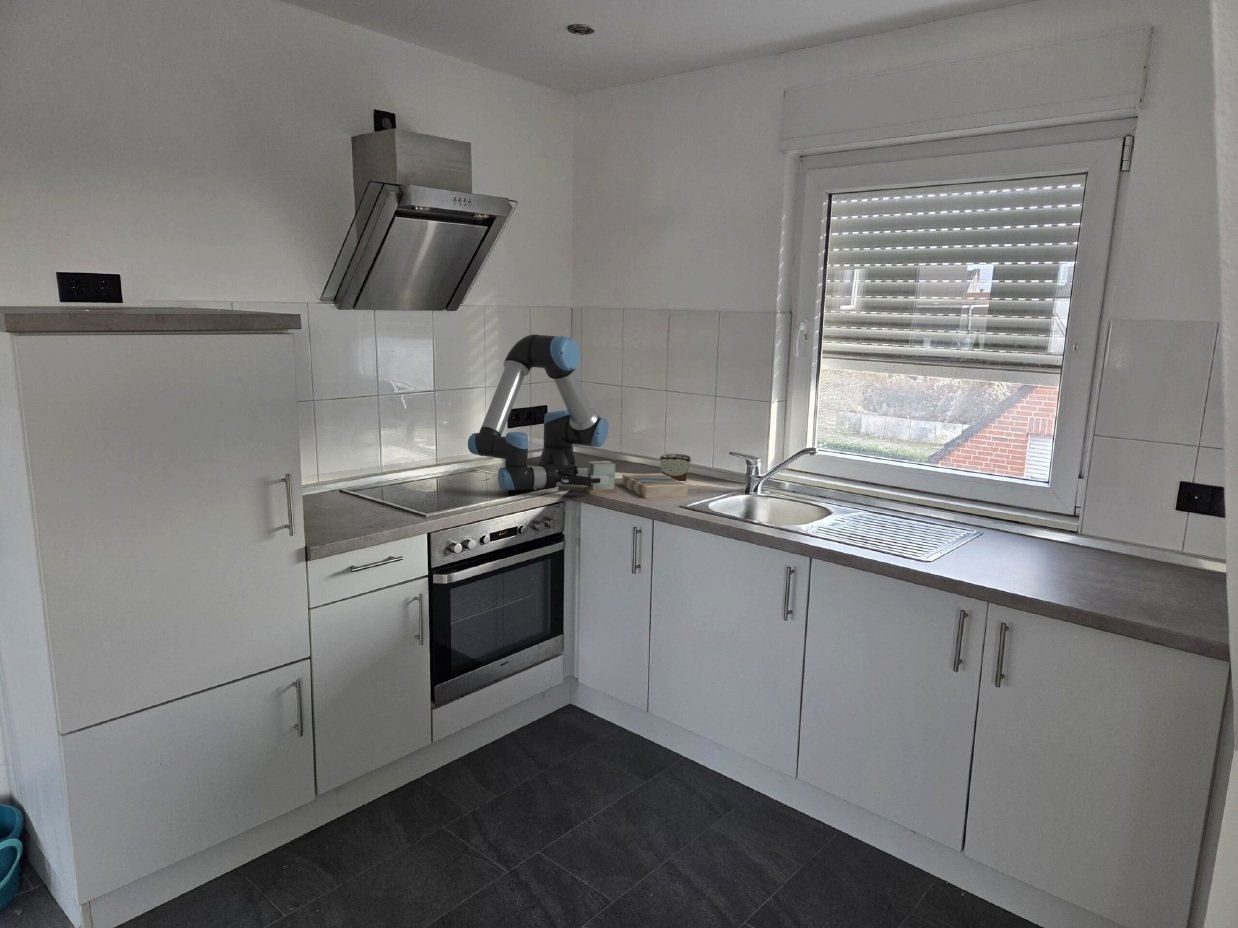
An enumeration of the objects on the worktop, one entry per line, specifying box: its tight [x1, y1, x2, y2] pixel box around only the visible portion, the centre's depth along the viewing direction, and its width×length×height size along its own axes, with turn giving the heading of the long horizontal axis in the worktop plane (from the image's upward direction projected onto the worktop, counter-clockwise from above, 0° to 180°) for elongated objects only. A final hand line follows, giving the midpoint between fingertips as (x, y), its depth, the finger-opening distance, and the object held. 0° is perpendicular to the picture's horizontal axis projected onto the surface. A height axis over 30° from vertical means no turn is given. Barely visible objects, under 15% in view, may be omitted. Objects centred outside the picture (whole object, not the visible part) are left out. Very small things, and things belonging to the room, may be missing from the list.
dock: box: [621, 472, 689, 499], centre depth 295 cm, size 22×16×4 cm
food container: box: [659, 453, 692, 482], centre depth 315 cm, size 12×6×10 cm, turn 84°
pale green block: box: [584, 460, 618, 495], centre depth 289 cm, size 6×10×10 cm, turn 112°
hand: (601, 475), depth 288 cm, fingers open, 13 cm apart
